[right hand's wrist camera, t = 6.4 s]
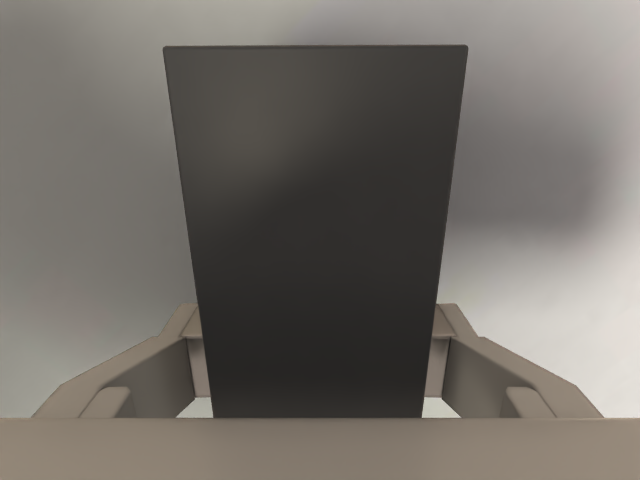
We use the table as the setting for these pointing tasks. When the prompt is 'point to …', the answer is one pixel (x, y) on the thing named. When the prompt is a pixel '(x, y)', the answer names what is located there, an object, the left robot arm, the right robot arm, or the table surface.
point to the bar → (316, 219)
